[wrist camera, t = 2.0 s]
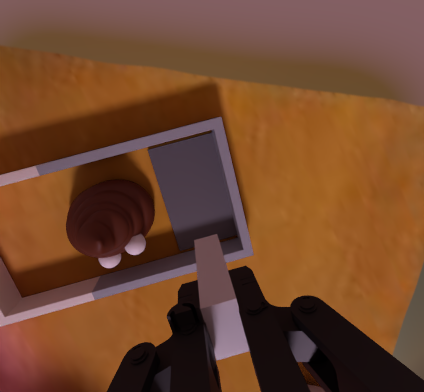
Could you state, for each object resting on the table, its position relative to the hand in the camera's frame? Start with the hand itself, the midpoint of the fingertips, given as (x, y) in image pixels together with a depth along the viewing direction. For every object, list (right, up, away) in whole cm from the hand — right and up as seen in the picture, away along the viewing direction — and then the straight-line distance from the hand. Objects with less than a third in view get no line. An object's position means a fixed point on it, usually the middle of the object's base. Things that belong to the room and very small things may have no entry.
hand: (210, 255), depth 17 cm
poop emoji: (-12, +2, +15) cm, 19 cm away
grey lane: (-7, +3, +15) cm, 17 cm away
